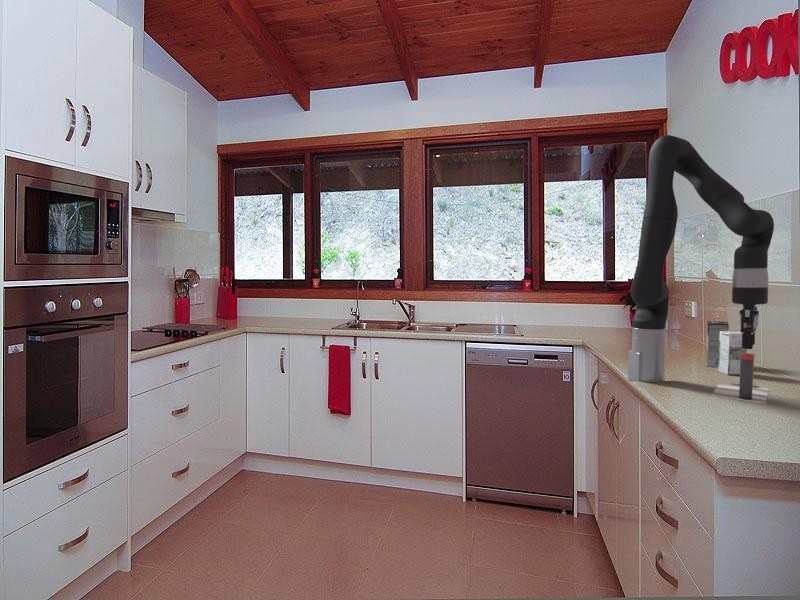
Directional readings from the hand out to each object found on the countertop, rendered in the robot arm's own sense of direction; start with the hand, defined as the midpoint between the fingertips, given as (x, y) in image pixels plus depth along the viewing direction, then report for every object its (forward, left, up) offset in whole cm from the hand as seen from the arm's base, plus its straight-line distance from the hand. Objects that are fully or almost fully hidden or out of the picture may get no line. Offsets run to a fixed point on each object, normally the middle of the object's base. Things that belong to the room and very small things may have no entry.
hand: (748, 346), depth 120 cm
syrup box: (+21, +33, -15) cm, 42 cm away
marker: (0, 0, -14) cm, 14 cm away
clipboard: (+3, +6, -15) cm, 17 cm away
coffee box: (+26, +47, -15) cm, 56 cm away
